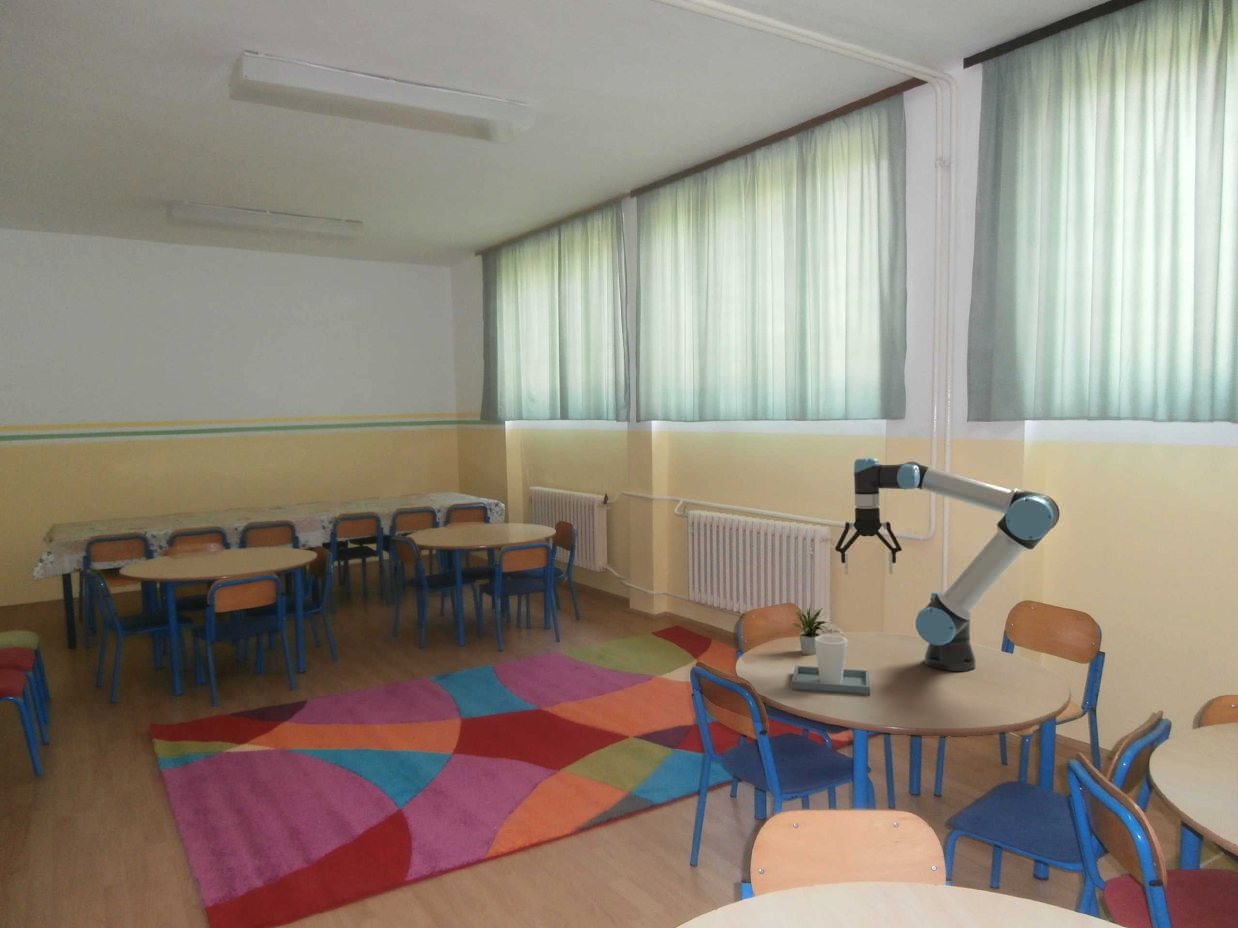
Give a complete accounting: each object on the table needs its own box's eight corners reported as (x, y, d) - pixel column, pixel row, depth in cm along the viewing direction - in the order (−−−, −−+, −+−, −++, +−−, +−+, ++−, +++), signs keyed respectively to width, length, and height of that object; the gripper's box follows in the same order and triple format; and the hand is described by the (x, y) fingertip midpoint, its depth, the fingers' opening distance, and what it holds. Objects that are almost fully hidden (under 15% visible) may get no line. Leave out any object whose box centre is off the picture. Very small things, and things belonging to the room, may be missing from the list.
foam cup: (844, 677, 253) (844, 635, 253) (850, 687, 244) (850, 643, 244) (812, 676, 254) (812, 634, 254) (817, 686, 245) (817, 643, 244)
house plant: (788, 659, 275) (788, 610, 274) (781, 647, 289) (781, 600, 288) (832, 658, 274) (832, 609, 273) (823, 647, 288) (823, 600, 287)
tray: (869, 678, 254) (869, 670, 254) (869, 695, 239) (869, 686, 239) (795, 673, 260) (795, 665, 260) (791, 689, 245) (791, 681, 245)
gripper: (906, 505, 266) (908, 571, 267) (826, 506, 271) (827, 570, 273) (909, 507, 259) (911, 575, 260) (827, 508, 264) (828, 575, 265)
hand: (868, 573), depth 266 cm, fingers open, 13 cm apart
